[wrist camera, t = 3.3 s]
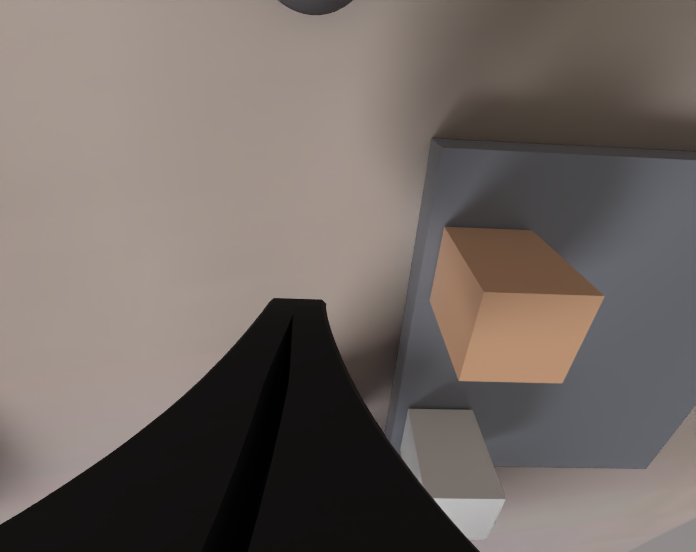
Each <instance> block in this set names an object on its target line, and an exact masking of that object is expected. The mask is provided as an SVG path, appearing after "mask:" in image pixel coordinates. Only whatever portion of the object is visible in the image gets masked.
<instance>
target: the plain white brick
mask: <svg viewBox="0 0 696 552" xmlns="http://www.w3.org/2000/svg"><path fill="white" fill-rule="evenodd" d="M400 451H401V458H402V459H403V461H404V462H405V463H406V465H407V466H408V467H409V469H410V470H411V471H412V473H413V474H414V475H415V477H416V478H417V479H418V481H419V482H420V483H421V484H422V486H423V487H424V488H425V489H426V490H427V492H428V493H429V494H430V495H431V497H432V498H433V499H434V500H435V501H436V503H437V504H438V505H439V506H440V507H441V509H442V510H443V511H444V512H445V513H446V515H447V516H448V517H449V518H450V519H451V520H452V521H453V523H454V524H455V525H456V526H457V527H458V528H459V529H460V530H461V532H462V533H463V534H464V535H465V536H466V537H467V538H468V539H487V537H488V535H489V533H490V531H491V529H492V527H493V525H494V523H495V521H496V519H497V517H498V514H499V512H500V510H501V508H502V506H503V504H504V502H505V500H506V498H505V495H504V493H503V490H502V487H501V485H500V482H499V479H498V477H497V474H496V471H495V468H494V466H493V463H492V460H491V458H490V455H489V452H488V450H487V447H486V444H485V442H484V439H483V436H482V434H481V431H480V428H479V426H478V423H477V420H476V418H475V415H474V412H473V410H453V409H408V412H407V417H406V422H405V427H404V433H403V438H402V443H401V448H400Z"/></svg>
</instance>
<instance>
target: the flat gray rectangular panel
mask: <svg viewBox="0 0 696 552" xmlns="http://www.w3.org/2000/svg"><path fill="white" fill-rule="evenodd" d="M444 227H466V228H491V229H515V230H532V231H533V232H534V233H536V234H537V235H538V236H539V237H540V238H541V239H542V240H543V241H544V242H546V243H547V244H548V245H549V246H550V247H551V248H552V249H553V250H554V251H555V252H557V253H558V254H559V255H560V256H561V257H562V258H563V259H564V260H565V261H567V262H568V263H569V264H570V265H571V266H572V267H573V268H574V269H575V270H576V271H578V272H579V273H580V274H581V275H582V276H583V277H584V278H585V279H586V280H588V281H589V282H590V283H591V284H592V285H593V286H594V287H595V288H596V289H597V290H599V291H600V292H601V293H602V294H603V295H604V296H605V297H604V299H603V301H602V303H601V305H600V307H599V309H598V311H597V313H596V315H595V317H594V319H593V322H592V324H591V326H590V328H589V330H588V332H587V334H586V336H585V338H584V340H583V342H582V344H581V346H580V348H579V350H578V352H577V354H576V356H575V358H574V361H573V363H572V365H571V367H570V369H569V371H568V373H567V375H566V377H565V379H564V381H563V383H522V382H481V381H459V380H458V378H457V375H456V372H455V369H454V367H453V364H452V361H451V358H450V356H449V353H448V350H447V347H446V345H445V342H444V339H443V336H442V334H441V331H440V328H439V325H438V323H437V320H436V317H435V314H434V312H433V309H432V306H431V303H430V296H431V291H432V286H433V281H434V275H435V270H436V265H437V260H438V255H439V250H440V245H441V240H442V235H443V230H444ZM695 405H696V152H692V151H672V150H653V149H633V148H613V147H593V146H573V145H553V144H533V143H513V142H494V141H474V140H454V139H434V138H432V139H431V146H430V152H429V158H428V165H427V171H426V177H425V184H424V190H423V196H422V203H421V209H420V215H419V222H418V228H417V234H416V241H415V247H414V253H413V260H412V266H411V272H410V278H409V285H408V291H407V297H406V304H405V310H404V316H403V323H402V329H401V335H400V342H399V348H398V354H397V361H396V367H395V373H394V380H393V386H392V392H391V399H390V405H389V411H388V418H387V424H386V430H385V436H386V437H387V439H388V440H389V442H390V443H391V444H392V446H393V447H394V448H395V450H396V451H397V452H398V454H399V455H400V456H401V451H400V448H401V443H402V438H403V433H404V427H405V422H406V417H407V412H408V409H453V410H473V412H474V415H475V418H476V420H477V423H478V426H479V428H480V431H481V434H482V436H483V439H484V442H485V444H486V447H487V450H488V452H489V455H490V458H491V460H492V463H493V466H494V467H554V468H621V469H646V468H647V467H648V465H649V464H650V463H651V462H652V460H653V459H654V458H655V456H656V455H657V454H658V453H659V451H660V450H661V449H662V447H663V446H664V445H665V444H666V442H667V441H668V440H669V438H670V437H671V436H672V435H673V433H674V432H675V431H676V429H677V428H678V427H679V426H680V424H681V423H682V422H683V420H684V419H685V418H686V417H687V415H688V414H689V413H690V412H691V410H692V409H693V408H694V406H695Z"/></svg>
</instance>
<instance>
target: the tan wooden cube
mask: <svg viewBox="0 0 696 552" xmlns="http://www.w3.org/2000/svg"><path fill="white" fill-rule="evenodd" d="M604 297H605V296H604V295H603V294H602V293H601V292H600V291H599V290H597V289H596V288H595V287H594V286H593V285H592V284H591V283H590V282H589V281H588V280H586V279H585V278H584V277H583V276H582V275H581V274H580V273H579V272H578V271H576V270H575V269H574V268H573V267H572V266H571V265H570V264H569V263H568V262H567V261H565V260H564V259H563V258H562V257H561V256H560V255H559V254H558V253H557V252H555V251H554V250H553V249H552V248H551V247H550V246H549V245H548V244H547V243H546V242H544V241H543V240H542V239H541V238H540V237H539V236H538V235H537V234H536V233H534V232H533V231H532V230H515V229H491V228H466V227H444V230H443V235H442V240H441V245H440V250H439V255H438V260H437V265H436V270H435V275H434V281H433V286H432V291H431V296H430V303H431V306H432V309H433V312H434V314H435V317H436V320H437V323H438V325H439V328H440V331H441V334H442V336H443V339H444V342H445V345H446V347H447V350H448V353H449V356H450V358H451V361H452V364H453V367H454V369H455V372H456V375H457V378H458V380H459V381H481V382H522V383H563V381H564V379H565V377H566V375H567V373H568V371H569V369H570V367H571V365H572V363H573V361H574V358H575V356H576V354H577V352H578V350H579V348H580V346H581V344H582V342H583V340H584V338H585V336H586V334H587V332H588V330H589V328H590V326H591V324H592V322H593V319H594V317H595V315H596V313H597V311H598V309H599V307H600V305H601V303H602V301H603V299H604Z"/></svg>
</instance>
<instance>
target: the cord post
mask: <svg viewBox="0 0 696 552" xmlns="http://www.w3.org/2000/svg"><path fill="white" fill-rule="evenodd" d="M279 1H280V2H281V3H282V4H284V5H285V6H287V7H288V8H290V9H292V10H295V11H297V12H300V13H303V14H309V15H323V14H329V13H332V12H335V11H337V10H339V9H341V8H343V7H345V6H346V5H347V4H349V3H350V2H351V1H352V0H279Z"/></svg>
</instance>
